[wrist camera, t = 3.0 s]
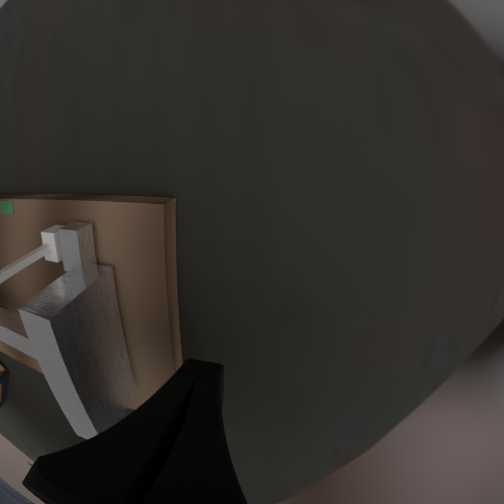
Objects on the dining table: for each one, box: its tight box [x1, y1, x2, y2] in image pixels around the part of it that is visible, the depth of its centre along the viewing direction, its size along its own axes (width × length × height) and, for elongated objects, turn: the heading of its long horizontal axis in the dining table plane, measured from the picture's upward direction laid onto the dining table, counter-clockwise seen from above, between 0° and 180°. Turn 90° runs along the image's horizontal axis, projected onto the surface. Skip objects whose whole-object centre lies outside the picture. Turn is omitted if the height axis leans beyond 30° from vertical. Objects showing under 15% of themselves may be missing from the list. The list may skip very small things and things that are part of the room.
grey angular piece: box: [0, 222, 137, 439], centre depth 10 cm, size 10×9×4 cm
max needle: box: [0, 225, 65, 284], centre depth 8 cm, size 1×1×5 cm
